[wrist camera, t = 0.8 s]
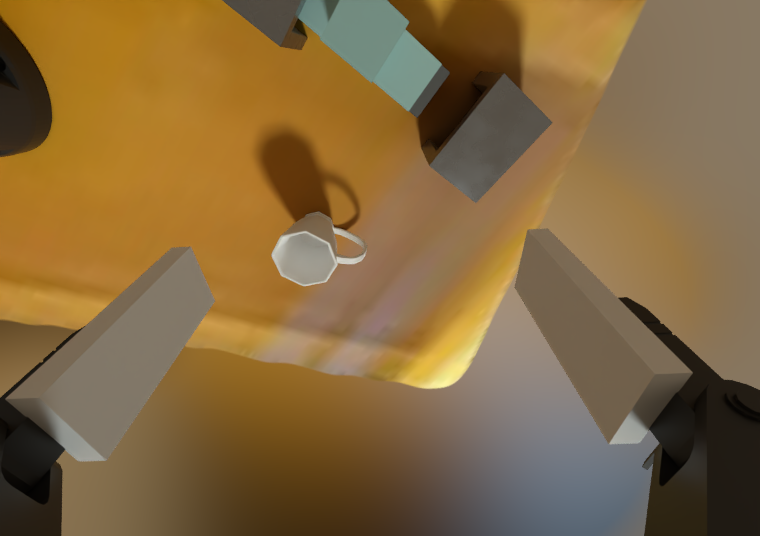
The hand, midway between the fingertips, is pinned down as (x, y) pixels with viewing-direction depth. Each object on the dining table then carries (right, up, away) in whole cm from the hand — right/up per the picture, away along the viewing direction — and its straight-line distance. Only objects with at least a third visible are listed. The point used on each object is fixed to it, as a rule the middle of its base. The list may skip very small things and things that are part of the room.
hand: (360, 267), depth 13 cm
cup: (-6, +5, +28) cm, 29 cm away
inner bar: (-3, +23, +16) cm, 28 cm away
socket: (+10, +15, +21) cm, 28 cm away
